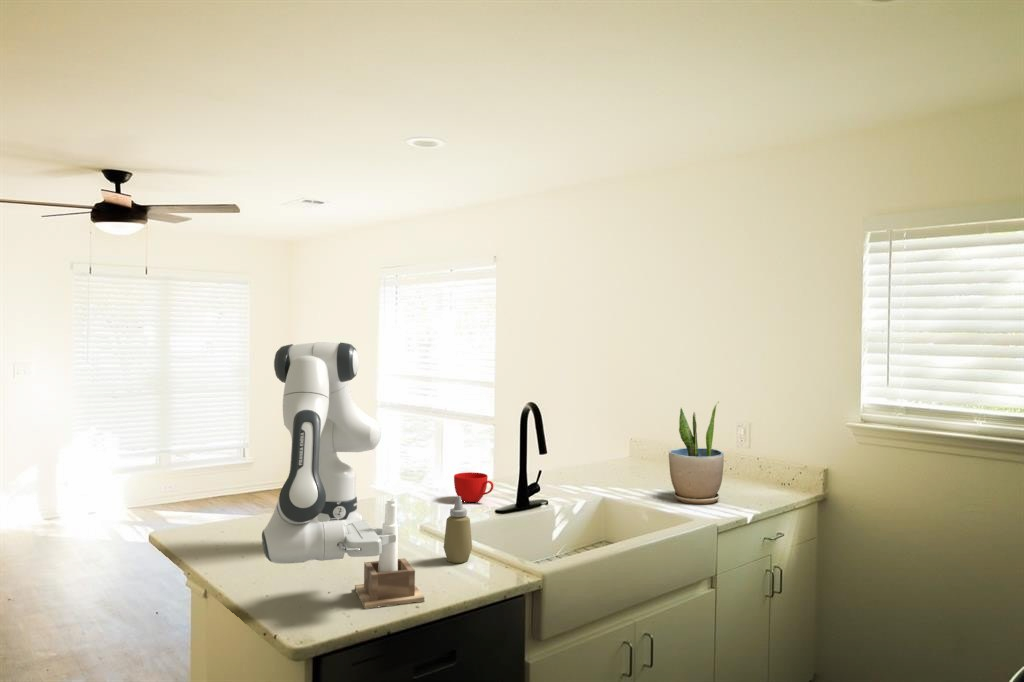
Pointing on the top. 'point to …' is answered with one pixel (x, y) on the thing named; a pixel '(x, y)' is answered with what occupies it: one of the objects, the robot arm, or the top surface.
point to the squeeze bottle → (458, 534)
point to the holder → (388, 585)
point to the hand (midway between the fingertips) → (393, 534)
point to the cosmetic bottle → (389, 550)
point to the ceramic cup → (471, 486)
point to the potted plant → (696, 465)
